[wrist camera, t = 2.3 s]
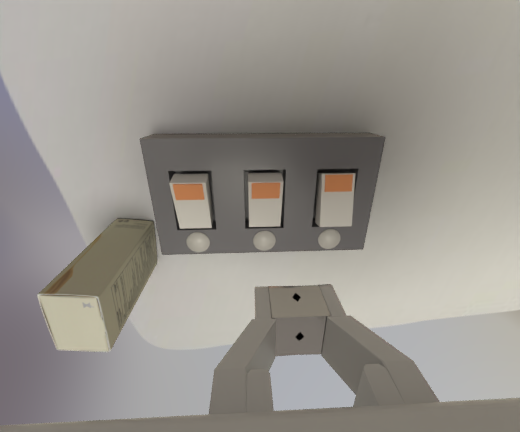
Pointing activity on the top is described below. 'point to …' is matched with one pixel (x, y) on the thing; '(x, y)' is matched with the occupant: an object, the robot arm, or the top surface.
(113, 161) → the top surface
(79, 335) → the skincare box
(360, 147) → the switch panel
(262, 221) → the rocker middle
